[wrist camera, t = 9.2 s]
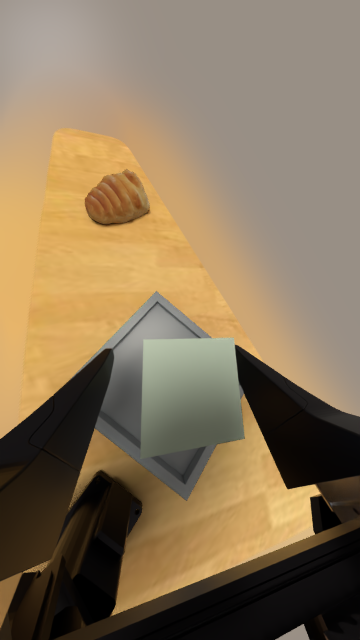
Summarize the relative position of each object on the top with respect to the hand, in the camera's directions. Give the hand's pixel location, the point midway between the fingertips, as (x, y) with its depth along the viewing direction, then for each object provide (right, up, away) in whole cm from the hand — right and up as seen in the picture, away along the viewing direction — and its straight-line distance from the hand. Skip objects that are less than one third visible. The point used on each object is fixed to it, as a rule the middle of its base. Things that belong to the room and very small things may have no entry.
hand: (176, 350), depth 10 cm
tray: (-1, -6, +8) cm, 10 cm away
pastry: (-10, +21, +12) cm, 26 cm away
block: (-2, -3, +7) cm, 8 cm away
